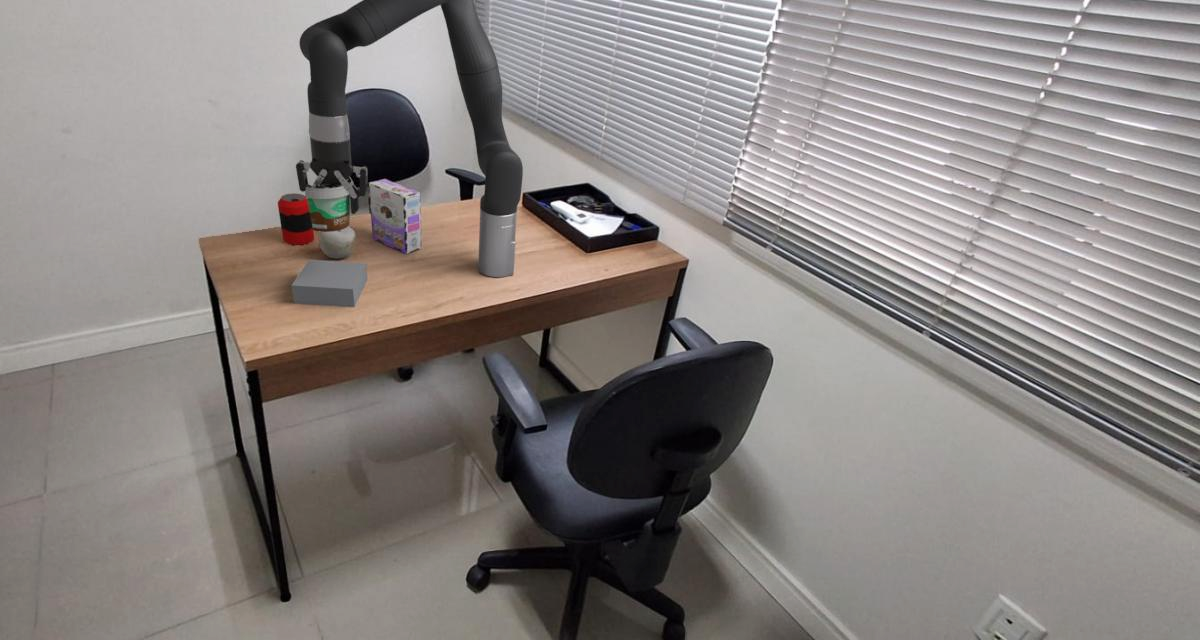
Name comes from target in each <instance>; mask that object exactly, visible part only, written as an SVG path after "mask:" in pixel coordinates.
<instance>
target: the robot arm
mask: <svg viewBox="0 0 1200 640" xmlns="http://www.w3.org/2000/svg"><path fill="white" fill-rule="evenodd" d="M439 6H440V7H441V8H440V9H441V11H442V14H443V16H444V21H445V24H446V25H445V26H446V29H447V33H448V39H449V42H450V47H451V51H452V55H453V59H454V60H453V61H454V64H455V69H456V74H457V78H458V81H459V82H458V83H459V85H460V89H461V93H462V96H463V99H464V103H465V106H466V109H467V112H468V116H469V118H470V122H471V125H472V129H473V135H474V141H475V150H476V156H477V163H478V166H479V169H480V171H481V172H482V174H483V175H484V176H485V177H484V194H483V195H481V196H480V201H479V203H480V204H479V208H480V209H479V230H478V231H479V232H478V233H479V234H478V235H479V237H478V263H477V264H478V265H477V268H478V271H479V272H480V274H482V275H485V276H487V277H491V278H506V277H509V276H514V273H515V272H514V271H515V259H516V258H515V255H516V231H517V230H516V229H517V218H518V217H517V216H518V215H517V214H518V213H517V211H518V205H519V203H520V201H521V194H522V186H523V185H522V184H523V175H524V174H523V173H524V169H523V168H524V167H523V162H522V160H521V158H520V156H519V155H518V154H517V153H516V152H515V151H514V150H513V149H512V148H511V146H510V144H509V140H508V138H507V134H506V131H505V127H504V123H503V117H502V116H503V114H502V113H503V112H502V111H503V84H502V83H503V82H502V77H501V73H500V69H499V64H498V59H497V56H496V53H495V50H494V47H493V46H492V43H491V42H490V39H489V37H488V36H487V33H486V32H485V30H484V28H483V26H482V23H481V21H480V19H479V16H478V12H477V9H476V5H475V0H361V1H359V2H357V3H355V4H354V5H352V6H350V7H349V8H348V9H347V10H345V11H343V12H342V13H341V12H340V13H337V14H336V15H332V16H330V17H327V18H324V19H322V20H319V21H317V22H316V23H314V24H312V25H310V26H309V27H307V28H306V29H305V30H304V31H303V32H302V34H301V35H300V38H299V42H298V43H299V49H300V52H301V54H302V55H303V57H304V58H306V60H308V62H309V72H310V73H309V74H310V82H309V83H308V84H307V103H308V104H307V105H308V113H309V114H308V134H309V141H310V142H309V143H310V151H311V152H310V153H311V161H304V160H299V161H298V162H297V163H296V165H295V169H296V175H297V176H296V177H297V181H298V187H299V190H300V191H301V192H303V193H305V190H306V187H308V188H315V187H319V186H320V185H321V183H322V182H324V183H325V184H336V185H341V184H342V185H343V186H344V188H345V189H346V190H348V193H349V194H350V214H352V215H356V213H357V212H358V211H359V209H360V197H365V196H366V194H367V192H368V179H369V177H368V174H369V170H368V167H367V166H366V165H362V167H361V166H355V165H354V163H352V155H351V154H352V153H351V137H350V135H351V134H350V124H349V118H348V109H347V108H348V107H347V106H348V105H347V96H346V87H347V81H348V80H347V79H348V69H349V59H348V56H349V55H348V52H350V51H352V50H353V49H355V48H358V47H363V48H364V47H368V46H370V45H373V44H374V43H376V42H378V41H379V40H380V39H382V38H384V37H386V36H388V35H389V34H391V33H392V32H394V31H395V30H397V29H400V27H402V26H403V25H406V24H407V23H408V22H411V21H413V20H414V19H415V18H417V17H419V16H421V15H423V14H425V13H426V12H429V11H430V10H433V9H434V8H438V7H439ZM310 169H311V171H312V172H313V173H314V174H315V175H316V178H315V181H314V182H313V184H312V185H311V184H309V181H308V180H309V179H308V174H307V173H308V172H309V170H310ZM353 173H355V175H356V177H357V178H359V188H357V186H356V185H355V184H354V181H353V179H352V177H351V175H352V174H353ZM348 182H349V183H348Z"/></svg>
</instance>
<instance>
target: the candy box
mask: <svg viewBox="0 0 1200 640" xmlns="http://www.w3.org/2000/svg"><path fill="white" fill-rule="evenodd" d="M367 185H368V194H369V195H368V196H369V209H370V217H371V220H370V221H371V233H372V239H373V240H375V241H376V242H380V243H381V244H383V245H386V246H387V247H390V248H393V249H395V251H399V252H401V253H403V254H405V255H407V254H411V253H413V252H415V251H418V250H421V249H423V248H422V219H421V218H422V217H421V215H422V213H421V209H422V208H421V206H422V205H421V192H420V191H417V190H415V189H412V188H409V187H406V186H404V185H401V184H400V183H397V182H394V181H393V180H392V181H391V180H390V179H386V178H383V179H379V180H374V181H370V182H367Z"/></svg>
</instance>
